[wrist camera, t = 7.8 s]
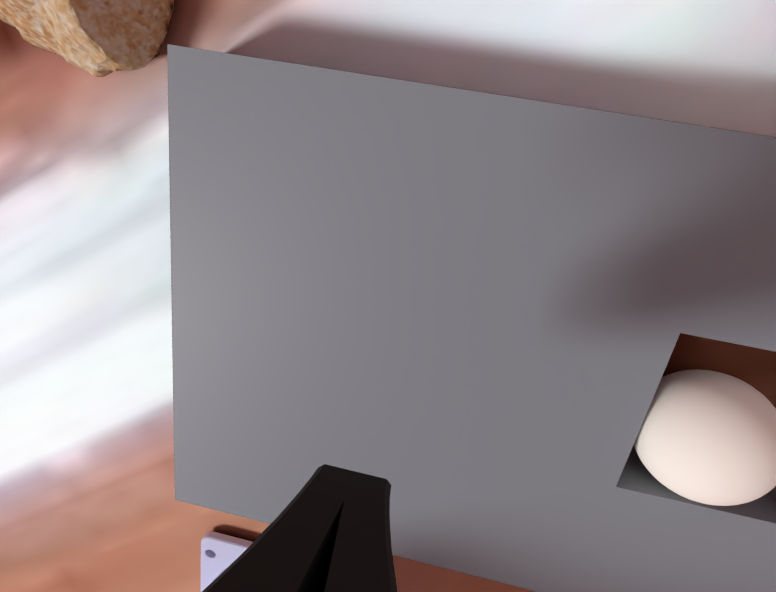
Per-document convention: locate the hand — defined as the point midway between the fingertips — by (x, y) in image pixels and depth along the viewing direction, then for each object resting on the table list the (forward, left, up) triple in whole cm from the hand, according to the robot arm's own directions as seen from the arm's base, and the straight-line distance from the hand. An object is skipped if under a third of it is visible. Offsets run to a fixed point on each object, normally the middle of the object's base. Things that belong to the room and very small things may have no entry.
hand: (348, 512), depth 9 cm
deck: (0, -5, -9) cm, 10 cm away
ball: (0, -10, -7) cm, 12 cm away
